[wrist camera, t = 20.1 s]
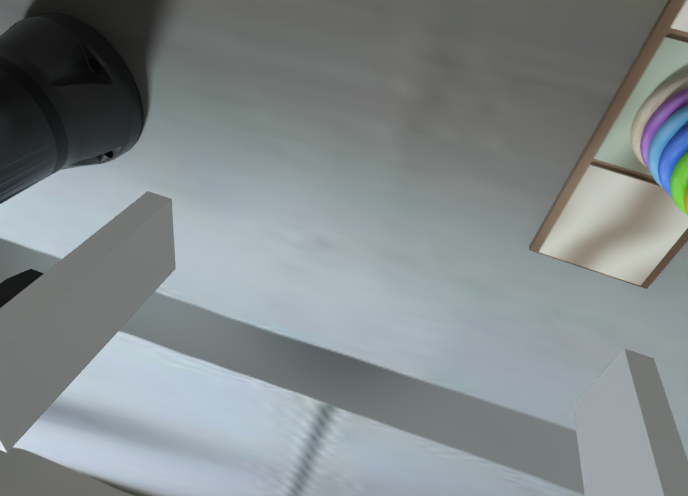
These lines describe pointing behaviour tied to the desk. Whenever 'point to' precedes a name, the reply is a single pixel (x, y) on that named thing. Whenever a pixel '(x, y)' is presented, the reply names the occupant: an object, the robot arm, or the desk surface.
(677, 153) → the stacking toy
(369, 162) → the desk surface
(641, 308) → the desk surface
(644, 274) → the board
